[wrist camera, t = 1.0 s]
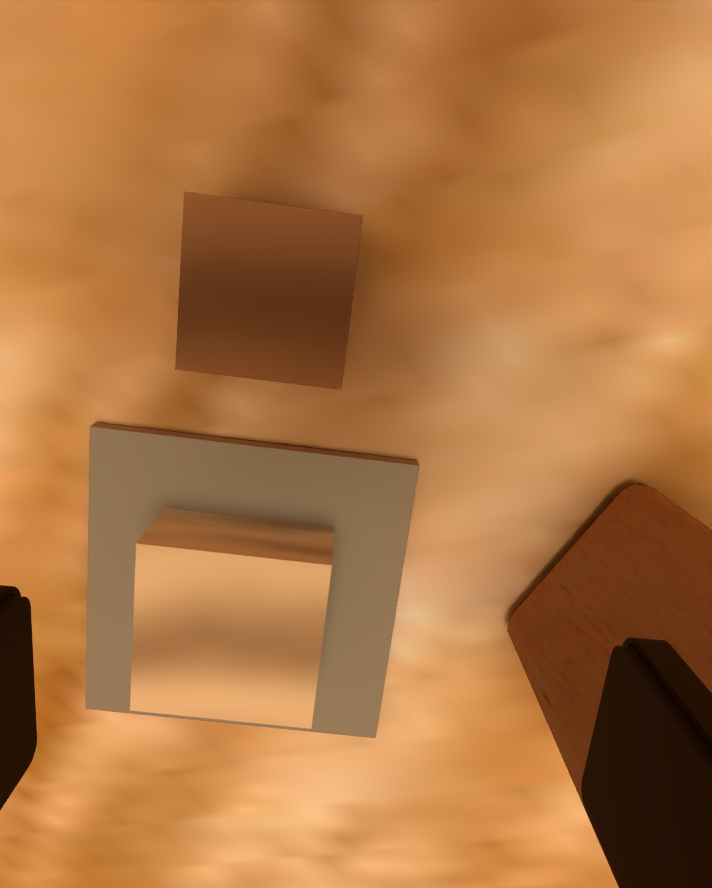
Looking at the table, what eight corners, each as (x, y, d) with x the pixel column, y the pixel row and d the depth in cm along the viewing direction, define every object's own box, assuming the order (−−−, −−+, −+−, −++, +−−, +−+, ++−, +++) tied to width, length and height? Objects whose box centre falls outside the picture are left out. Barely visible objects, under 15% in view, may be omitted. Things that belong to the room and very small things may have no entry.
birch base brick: (164, 507, 29) (136, 543, 25) (334, 527, 30) (332, 565, 26) (157, 656, 31) (129, 710, 28) (316, 673, 32) (311, 729, 28)
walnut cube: (220, 209, 27) (184, 191, 21) (360, 228, 27) (362, 215, 21) (211, 349, 28) (175, 369, 23) (343, 365, 29) (341, 389, 23)
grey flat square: (96, 422, 29) (90, 426, 28) (417, 460, 30) (419, 465, 29) (91, 698, 33) (85, 708, 32) (375, 727, 34) (375, 737, 33)
